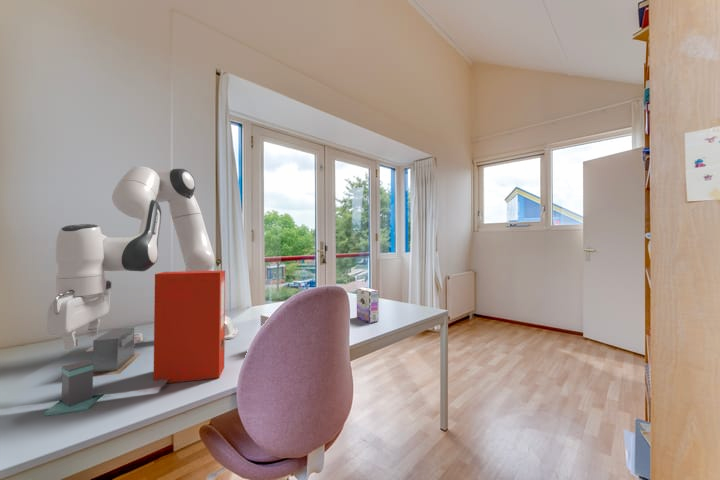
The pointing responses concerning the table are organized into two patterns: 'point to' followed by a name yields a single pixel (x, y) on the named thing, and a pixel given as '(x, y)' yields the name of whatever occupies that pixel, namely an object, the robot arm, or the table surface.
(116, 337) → the panel
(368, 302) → the candy box
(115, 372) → the board
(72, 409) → the pad
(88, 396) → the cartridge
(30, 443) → the table surface
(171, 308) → the file binder
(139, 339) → the white brass knuckles
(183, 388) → the table surface
